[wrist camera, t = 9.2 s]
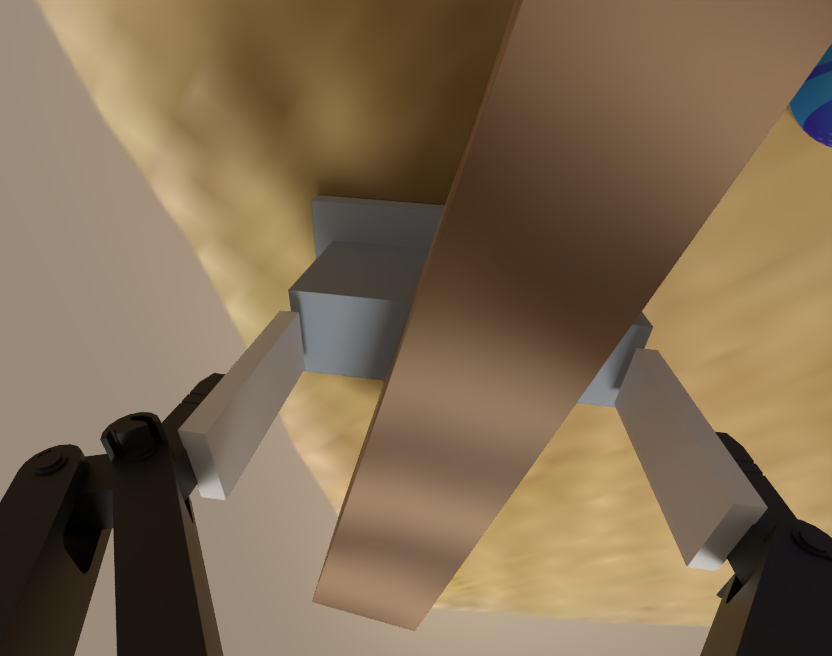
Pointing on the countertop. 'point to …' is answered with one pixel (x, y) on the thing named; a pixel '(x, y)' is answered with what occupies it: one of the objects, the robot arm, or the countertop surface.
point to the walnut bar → (552, 259)
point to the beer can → (816, 101)
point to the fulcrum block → (389, 291)
